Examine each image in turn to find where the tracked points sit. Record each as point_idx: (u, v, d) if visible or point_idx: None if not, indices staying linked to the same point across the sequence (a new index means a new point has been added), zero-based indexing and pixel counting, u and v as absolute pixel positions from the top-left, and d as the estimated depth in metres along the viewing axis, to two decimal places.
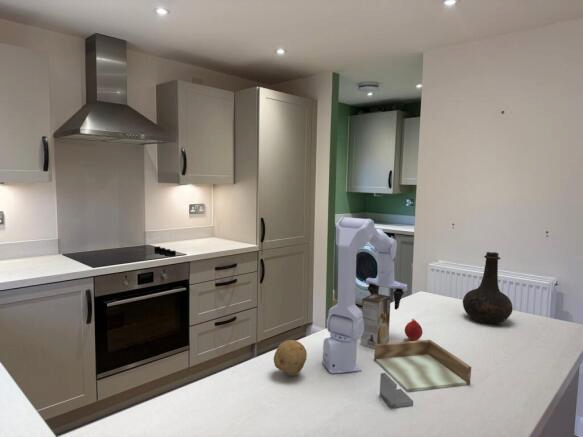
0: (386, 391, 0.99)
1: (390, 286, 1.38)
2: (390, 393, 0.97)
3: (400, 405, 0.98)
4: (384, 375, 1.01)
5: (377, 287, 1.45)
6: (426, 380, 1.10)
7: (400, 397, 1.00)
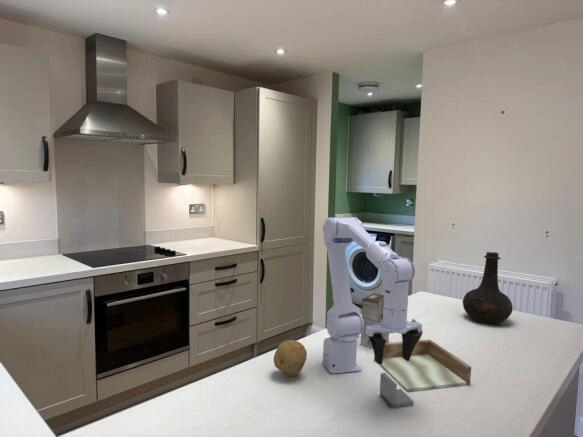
0: (386, 391, 0.99)
1: None
2: (390, 393, 0.97)
3: (400, 405, 0.98)
4: (384, 375, 1.01)
5: (409, 337, 0.99)
6: (426, 380, 1.10)
7: (400, 397, 1.00)
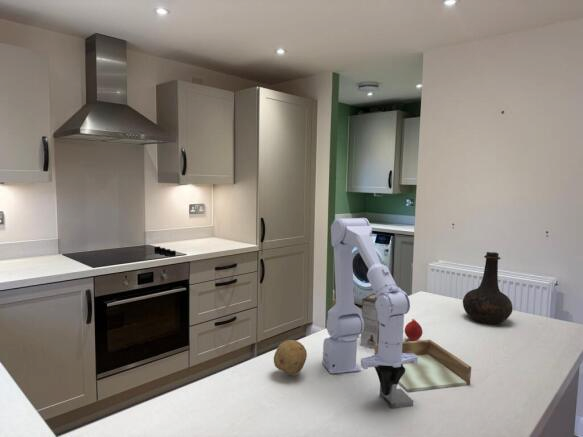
0: None
1: None
2: (390, 393, 0.97)
3: (400, 405, 0.98)
4: None
5: (393, 371, 0.99)
6: (426, 380, 1.10)
7: (400, 397, 1.00)
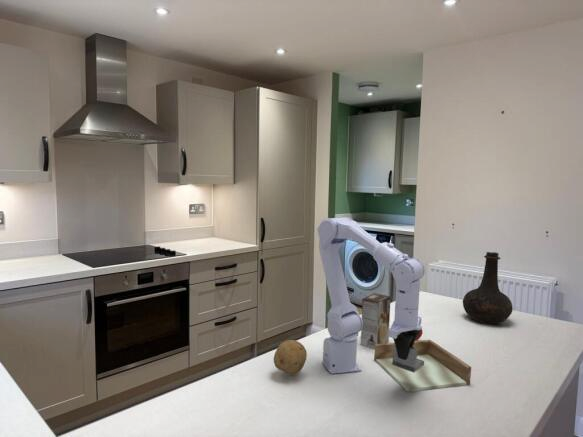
0: None
1: (392, 324, 1.03)
2: (412, 358, 1.02)
3: (418, 367, 1.03)
4: None
5: (409, 335, 1.03)
6: (426, 380, 1.10)
7: None
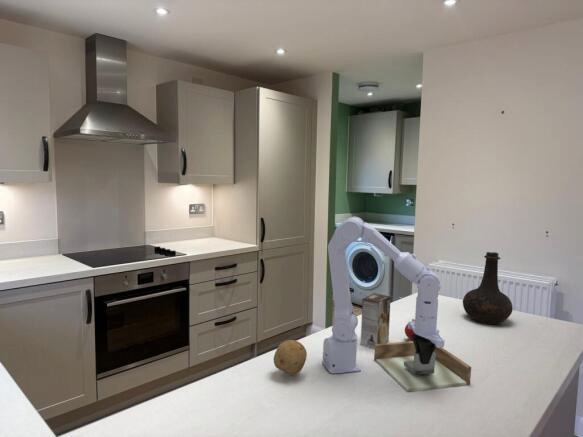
0: None
1: (423, 335, 1.08)
2: (433, 361, 1.12)
3: None
4: (419, 353, 1.11)
5: None
6: (426, 380, 1.10)
7: None
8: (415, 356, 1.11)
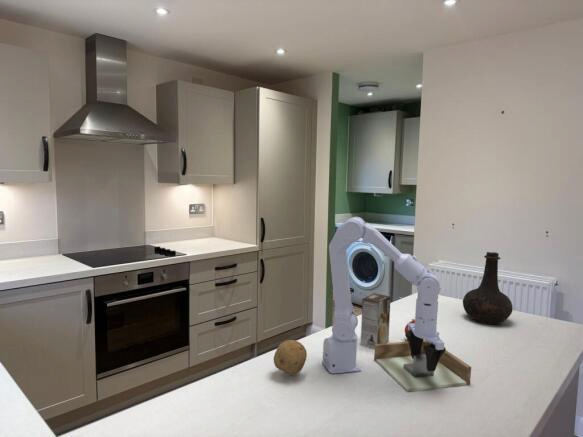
0: (426, 366, 1.11)
1: (422, 337, 1.08)
2: None
3: None
4: (419, 356, 1.11)
5: (420, 337, 1.15)
6: (426, 380, 1.10)
7: None
8: (414, 359, 1.11)
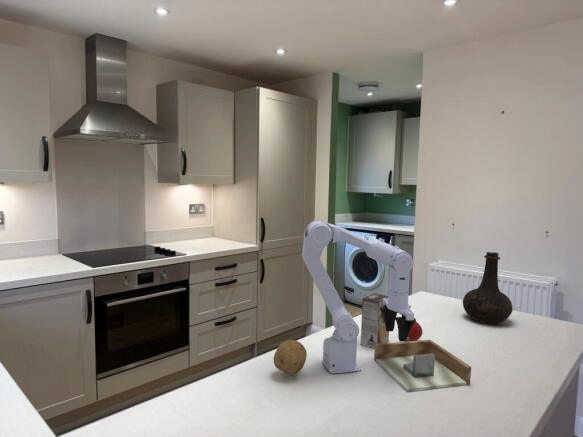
0: (426, 366, 1.11)
1: (394, 309, 1.15)
2: (432, 364, 1.12)
3: None
4: (419, 356, 1.11)
5: (393, 311, 1.22)
6: (426, 380, 1.10)
7: None
8: (414, 359, 1.11)
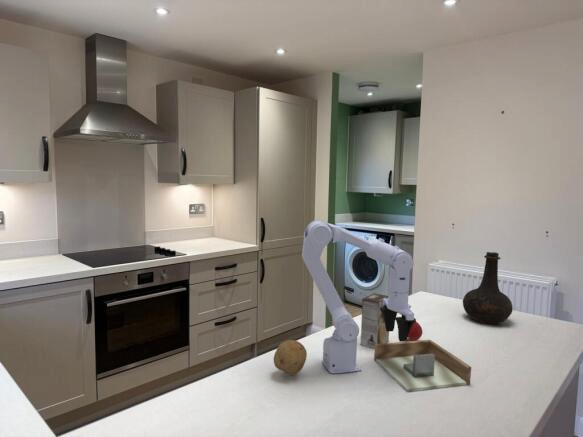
0: (426, 366, 1.11)
1: (394, 309, 1.15)
2: (432, 364, 1.12)
3: None
4: (419, 356, 1.11)
5: (393, 311, 1.22)
6: (426, 380, 1.10)
7: None
8: (414, 359, 1.11)
